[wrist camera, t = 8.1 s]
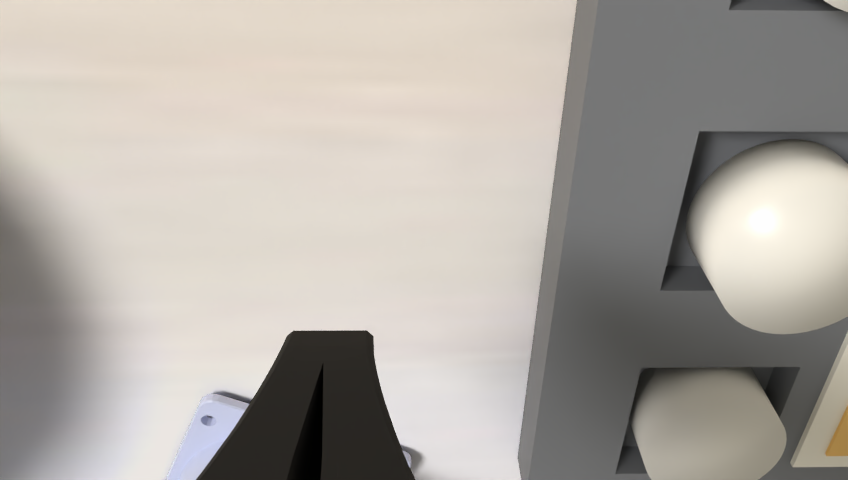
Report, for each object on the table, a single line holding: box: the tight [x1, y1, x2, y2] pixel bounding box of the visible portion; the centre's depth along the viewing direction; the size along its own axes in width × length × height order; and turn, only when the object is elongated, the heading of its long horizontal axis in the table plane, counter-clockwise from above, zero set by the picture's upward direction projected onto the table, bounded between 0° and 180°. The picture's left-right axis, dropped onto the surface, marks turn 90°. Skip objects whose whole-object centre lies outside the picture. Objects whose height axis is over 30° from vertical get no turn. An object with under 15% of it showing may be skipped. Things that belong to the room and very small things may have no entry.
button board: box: [518, 0, 848, 480], centre depth 21 cm, size 24×14×2 cm, turn 179°
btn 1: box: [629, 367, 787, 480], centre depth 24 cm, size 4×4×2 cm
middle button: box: [686, 139, 848, 334], centre depth 19 cm, size 4×4×2 cm
